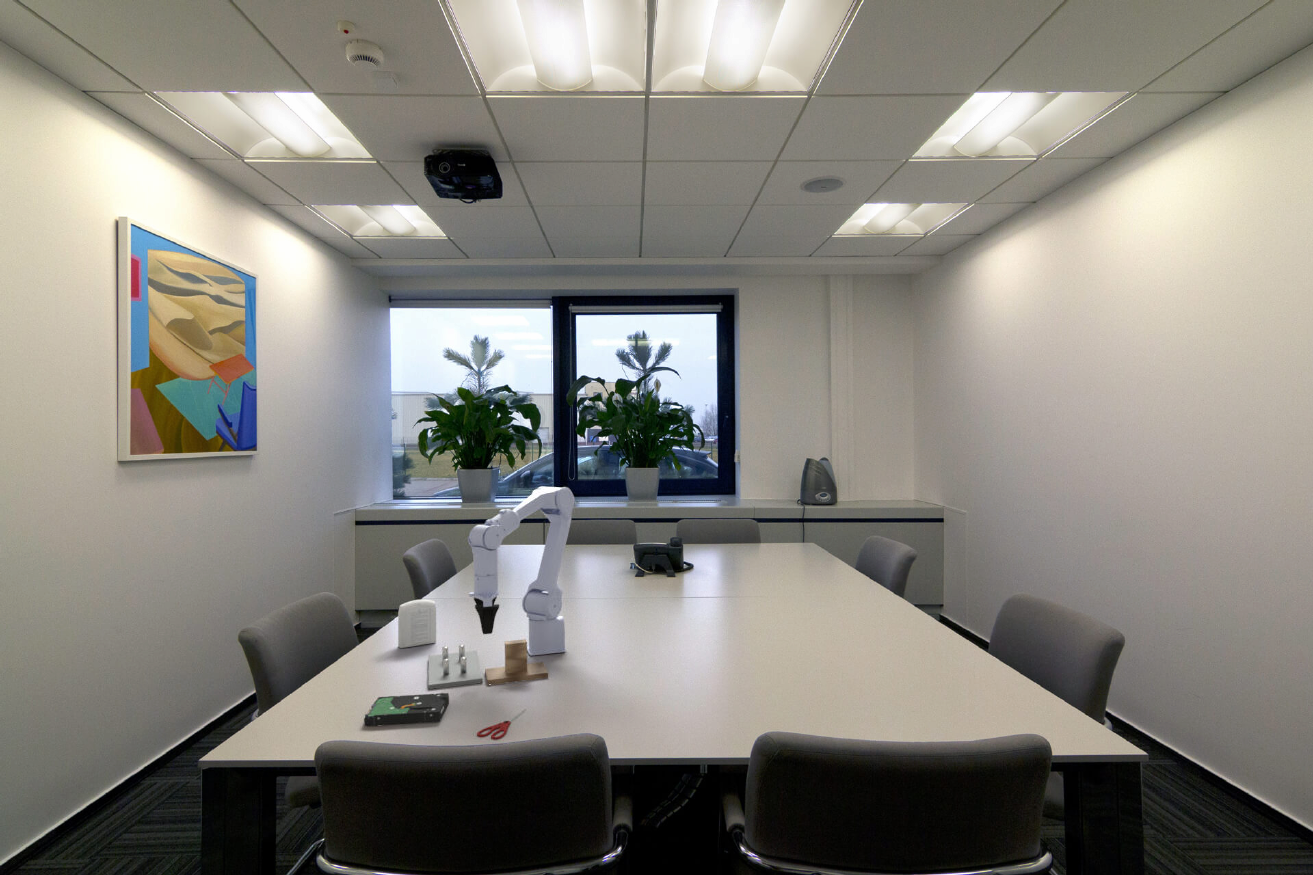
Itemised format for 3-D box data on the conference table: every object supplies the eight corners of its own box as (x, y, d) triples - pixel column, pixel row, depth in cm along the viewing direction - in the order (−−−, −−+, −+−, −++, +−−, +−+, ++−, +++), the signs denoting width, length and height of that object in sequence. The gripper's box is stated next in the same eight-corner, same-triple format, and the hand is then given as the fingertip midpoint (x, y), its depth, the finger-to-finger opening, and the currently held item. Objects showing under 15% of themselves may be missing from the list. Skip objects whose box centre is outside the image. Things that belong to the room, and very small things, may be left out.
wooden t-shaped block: (542, 668, 168) (542, 634, 168) (548, 678, 160) (547, 643, 160) (485, 675, 163) (484, 640, 163) (487, 686, 156) (487, 649, 156)
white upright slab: (434, 639, 192) (433, 596, 192) (438, 643, 189) (437, 598, 189) (396, 645, 187) (396, 601, 187) (400, 649, 183) (399, 604, 183)
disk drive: (449, 705, 146) (377, 708, 144) (449, 692, 146) (377, 695, 144) (440, 724, 136) (363, 729, 134) (440, 710, 136) (363, 715, 134)
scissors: (474, 738, 129) (474, 733, 129) (514, 710, 142) (514, 705, 142) (498, 742, 127) (498, 737, 127) (537, 714, 140) (537, 709, 140)
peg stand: (476, 654, 178) (476, 637, 178) (482, 682, 157) (482, 663, 157) (428, 659, 174) (428, 642, 174) (428, 689, 154) (428, 669, 154)
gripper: (467, 569, 171) (468, 623, 171) (469, 581, 157) (470, 639, 157) (496, 567, 173) (497, 620, 173) (500, 578, 159) (501, 636, 159)
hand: (486, 629), depth 165 cm, fingers open, 7 cm apart
